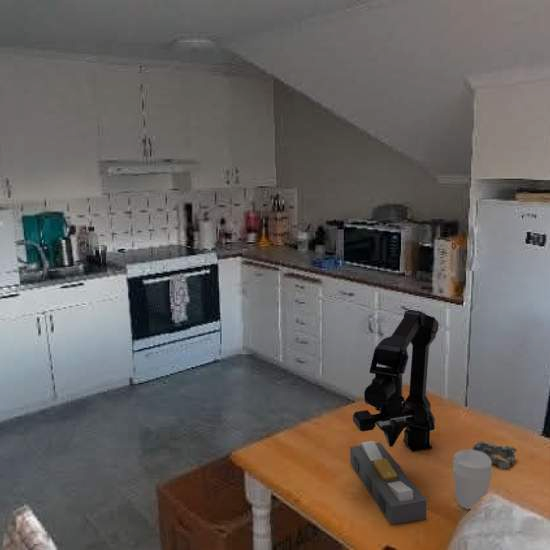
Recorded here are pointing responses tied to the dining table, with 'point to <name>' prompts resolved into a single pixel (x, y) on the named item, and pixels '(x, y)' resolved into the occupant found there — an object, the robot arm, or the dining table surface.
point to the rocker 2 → (384, 469)
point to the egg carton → (502, 451)
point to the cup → (471, 476)
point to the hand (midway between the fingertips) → (390, 446)
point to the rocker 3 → (400, 491)
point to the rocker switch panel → (381, 492)
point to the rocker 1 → (371, 451)
